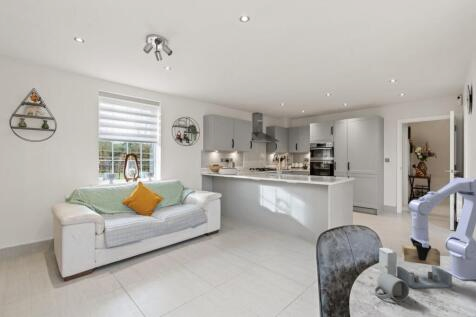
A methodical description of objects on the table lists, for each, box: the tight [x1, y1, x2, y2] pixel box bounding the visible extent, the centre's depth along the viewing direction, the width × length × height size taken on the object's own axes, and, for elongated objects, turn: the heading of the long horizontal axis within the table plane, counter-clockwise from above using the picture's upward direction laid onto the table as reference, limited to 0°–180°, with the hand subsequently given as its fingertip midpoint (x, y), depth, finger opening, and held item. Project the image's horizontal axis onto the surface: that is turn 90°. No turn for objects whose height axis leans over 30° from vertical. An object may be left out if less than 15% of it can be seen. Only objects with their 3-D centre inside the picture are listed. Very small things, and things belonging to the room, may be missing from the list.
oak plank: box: [401, 244, 441, 267], centre depth 101 cm, size 12×4×6 cm, turn 64°
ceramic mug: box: [374, 273, 410, 302], centre depth 89 cm, size 11×8×8 cm
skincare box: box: [378, 247, 398, 277], centre depth 103 cm, size 6×4×12 cm
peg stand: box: [396, 265, 453, 289], centre depth 98 cm, size 17×8×5 cm, turn 89°
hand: (420, 258), depth 101 cm, fingers closed on oak plank, 4 cm apart
